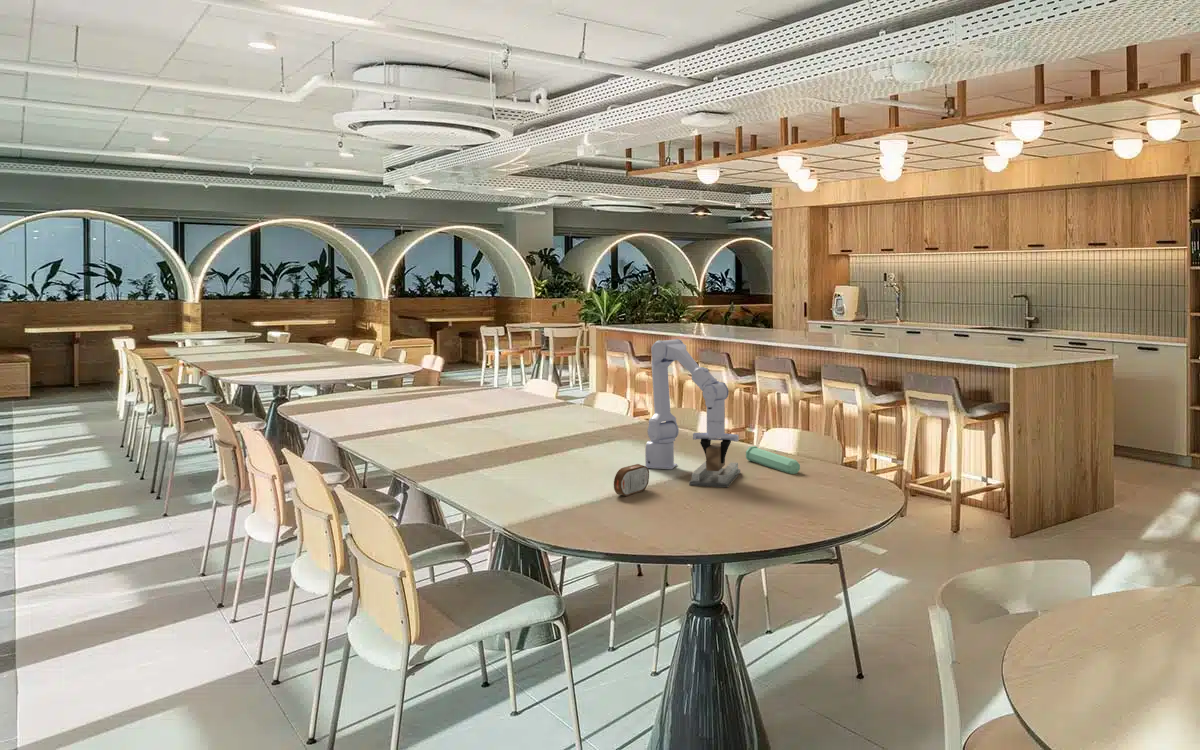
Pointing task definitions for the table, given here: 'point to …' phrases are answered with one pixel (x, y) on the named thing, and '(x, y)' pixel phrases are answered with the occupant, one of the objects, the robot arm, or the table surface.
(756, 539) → the table surface
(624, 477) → the tin
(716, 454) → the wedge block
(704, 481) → the slot base
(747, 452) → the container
